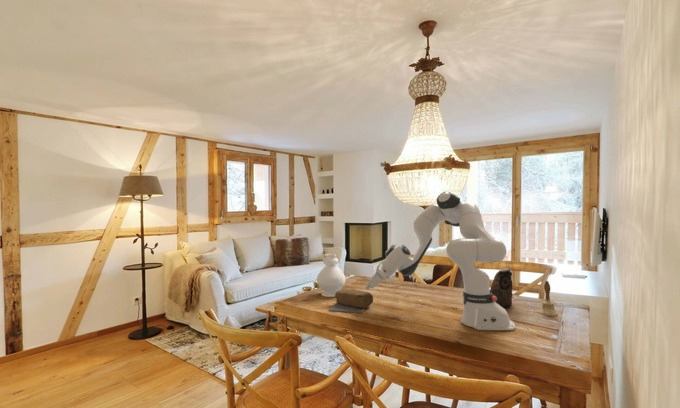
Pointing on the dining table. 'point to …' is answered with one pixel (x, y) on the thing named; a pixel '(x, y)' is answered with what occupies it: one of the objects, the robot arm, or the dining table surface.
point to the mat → (346, 308)
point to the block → (354, 298)
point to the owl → (502, 288)
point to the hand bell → (548, 303)
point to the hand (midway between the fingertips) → (367, 288)
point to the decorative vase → (330, 276)
